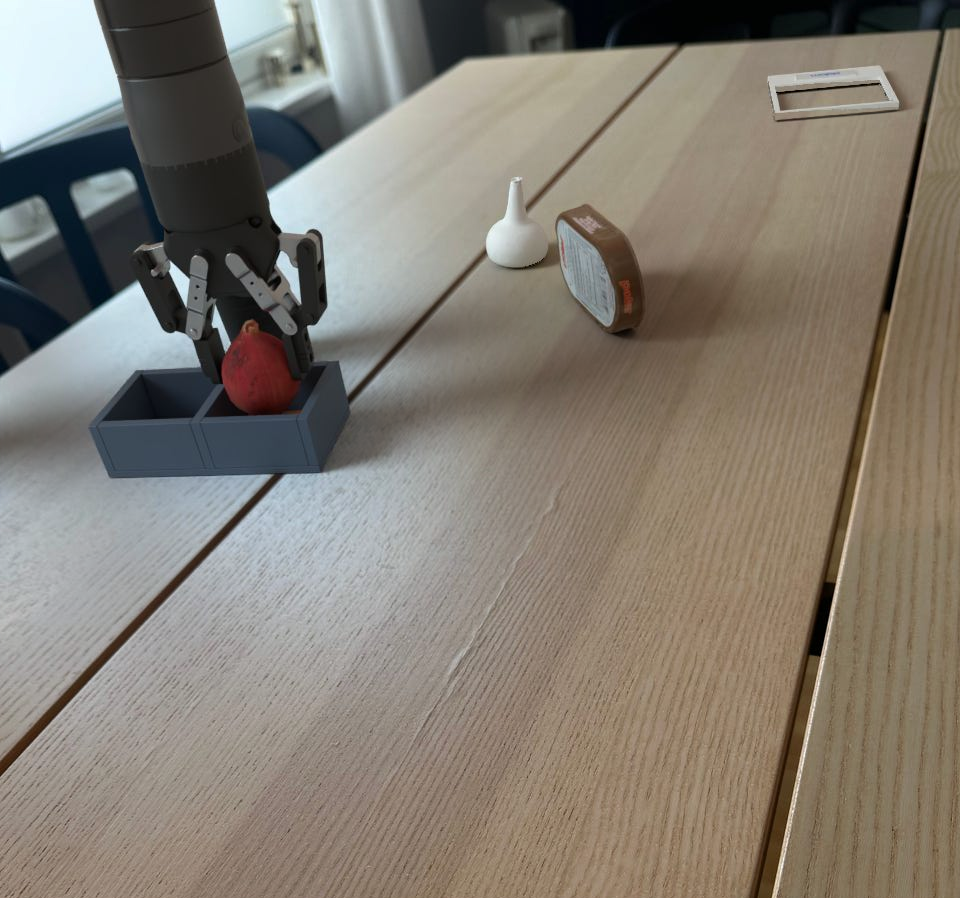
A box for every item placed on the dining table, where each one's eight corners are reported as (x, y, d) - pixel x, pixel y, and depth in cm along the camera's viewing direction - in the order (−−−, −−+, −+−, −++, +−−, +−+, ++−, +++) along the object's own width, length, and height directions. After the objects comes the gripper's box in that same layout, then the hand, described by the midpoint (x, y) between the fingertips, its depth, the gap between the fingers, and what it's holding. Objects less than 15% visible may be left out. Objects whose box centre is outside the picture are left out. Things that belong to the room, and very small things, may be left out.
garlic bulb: (494, 249, 107) (485, 169, 101) (553, 246, 105) (547, 165, 100) (482, 273, 102) (472, 191, 97) (544, 271, 101) (537, 187, 95)
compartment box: (109, 478, 80) (87, 426, 77) (154, 419, 87) (135, 369, 84) (321, 472, 77) (306, 418, 74) (350, 412, 83) (338, 360, 80)
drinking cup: (283, 381, 89) (217, 137, 76) (209, 377, 92) (132, 141, 79) (320, 342, 94) (264, 108, 81) (249, 339, 97) (183, 112, 84)
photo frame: (880, 63, 137) (899, 100, 124) (878, 72, 138) (898, 110, 125) (768, 74, 140) (775, 111, 127) (767, 83, 141) (774, 120, 127)
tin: (648, 342, 86) (647, 242, 81) (614, 350, 86) (610, 251, 80) (585, 281, 97) (580, 190, 92) (554, 289, 97) (547, 198, 91)
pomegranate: (267, 445, 76) (238, 346, 71) (222, 425, 80) (191, 329, 74) (325, 412, 79) (301, 314, 74) (279, 394, 83) (253, 299, 77)
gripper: (314, 115, 68) (364, 351, 79) (117, 134, 70) (191, 359, 81) (281, 150, 62) (339, 398, 73) (69, 169, 65) (156, 405, 76)
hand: (261, 377), depth 77 cm, fingers closed on pomegranate, 6 cm apart
